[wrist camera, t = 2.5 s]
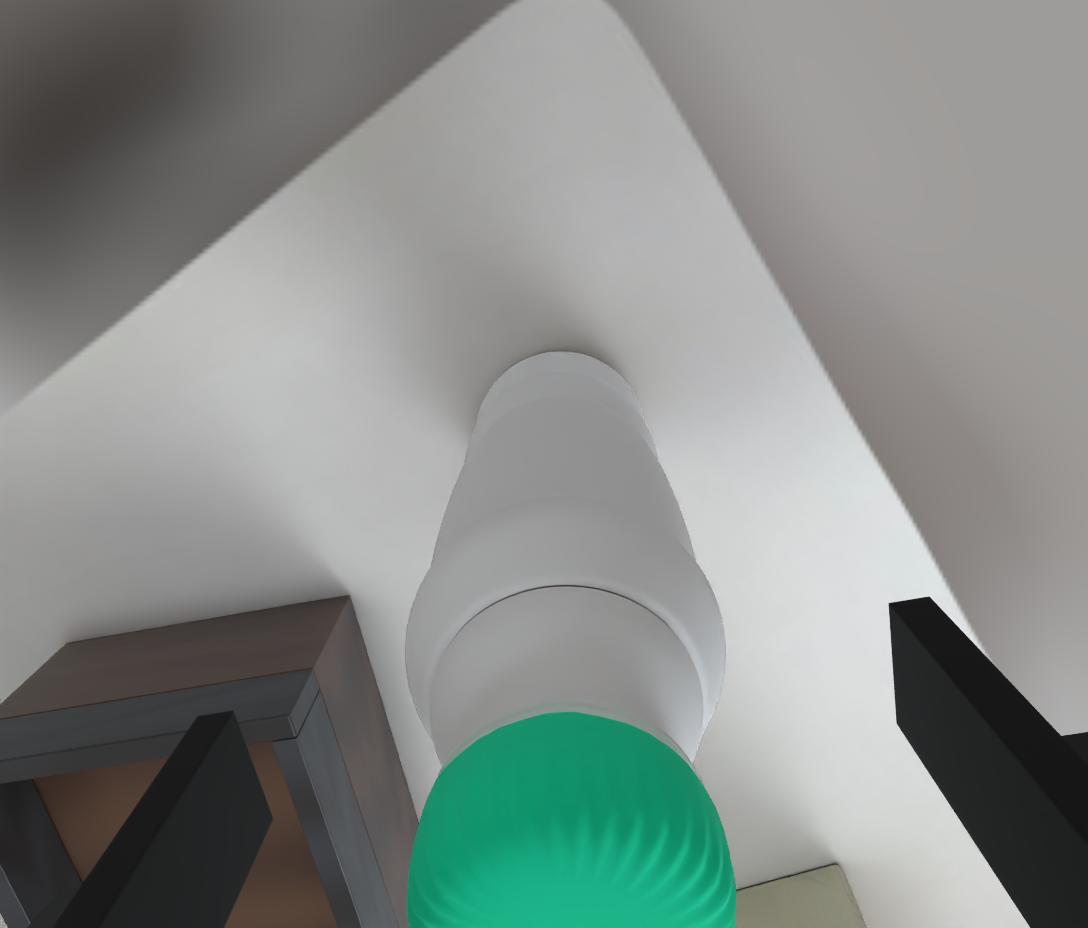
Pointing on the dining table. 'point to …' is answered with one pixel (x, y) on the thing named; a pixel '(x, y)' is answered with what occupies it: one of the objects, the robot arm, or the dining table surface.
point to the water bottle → (566, 674)
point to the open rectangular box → (271, 738)
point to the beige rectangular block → (800, 902)
